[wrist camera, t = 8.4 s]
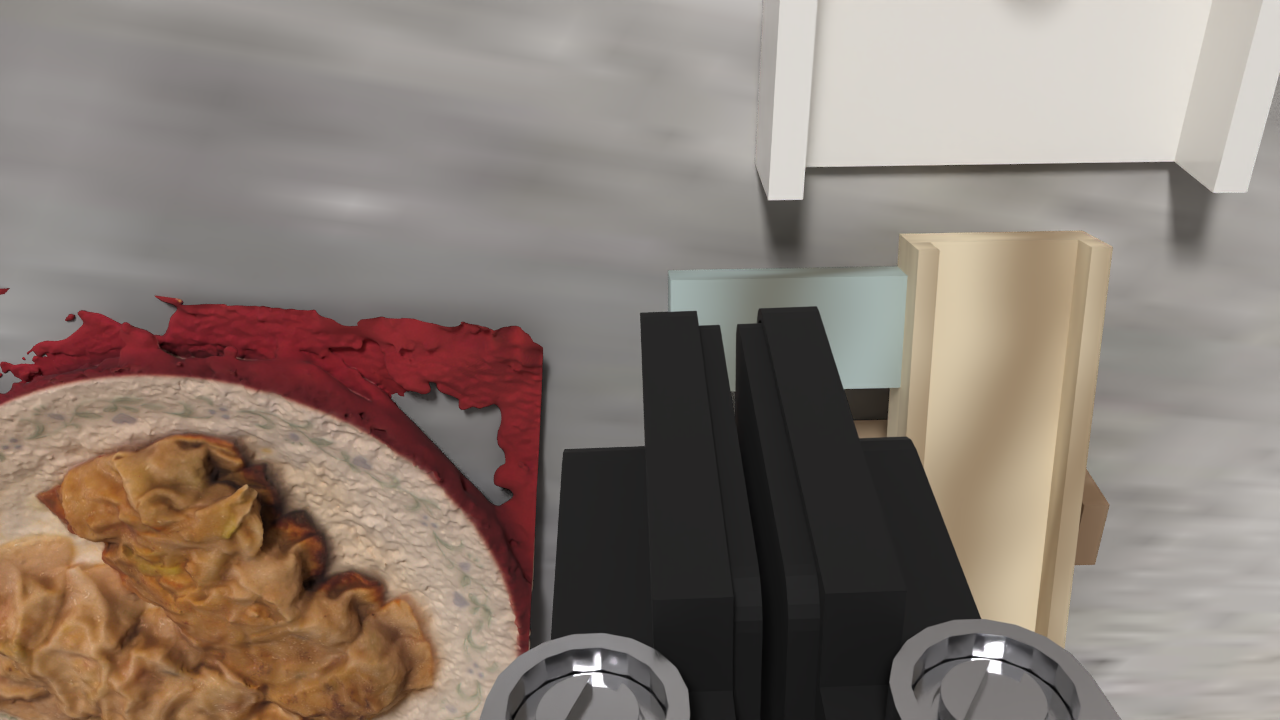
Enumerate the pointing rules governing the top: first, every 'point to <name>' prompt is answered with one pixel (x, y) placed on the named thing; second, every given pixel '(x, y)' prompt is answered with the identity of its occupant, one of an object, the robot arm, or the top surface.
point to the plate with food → (260, 520)
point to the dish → (1014, 85)
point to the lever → (964, 385)
